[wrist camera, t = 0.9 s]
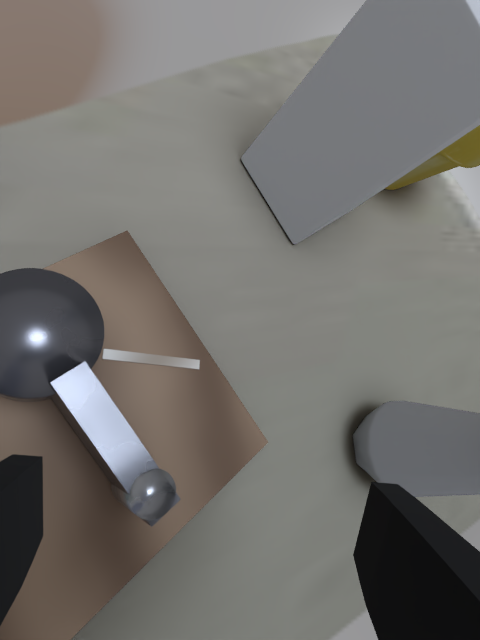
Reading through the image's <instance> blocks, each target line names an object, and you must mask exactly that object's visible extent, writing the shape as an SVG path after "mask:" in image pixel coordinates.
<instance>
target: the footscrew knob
mask: <svg viewBox="0 0 480 640" xmlns="http://www.w3.org/2000/svg"><path fill="white" fill-rule="evenodd" d="M103 342H104V321H103V318H102V314H101V311H100V309H99V307H98V305H97V303H96V302H95V300H94V298H93V297H92V296H91V295H90V293H89V292H88V291H87V290H86V289H85V288H84V287H82V286H81V285H80V284H79V283H77V282H76V281H74V280H73V279H71V278H69V277H67V276H65V275H63V274H60V273H57V272H54V271H50V270H45V269H37V268H24V269H16V270H12V271H8V272H4V273H2V274H0V396H1V397H3V398H6V399H9V400H14V401H19V402H37V401H43V400H47V399H52V401H53V402H54V404H55V405H56V406H57V408H58V409H59V411H60V412H61V414H62V415H63V416H64V418H65V419H66V421H67V422H68V423H69V425H70V426H71V428H72V429H73V431H74V432H75V433H76V435H77V436H78V438H79V439H80V440H81V442H82V443H83V445H84V446H85V448H86V449H87V450H88V452H89V453H90V455H91V456H92V457H93V459H94V460H95V462H96V463H97V465H98V466H99V467H100V469H101V470H102V472H103V473H104V474H105V476H106V477H107V479H108V480H109V482H110V483H111V491H112V494H113V496H114V497H115V499H116V500H117V501H119V502H120V503H121V504H123V505H124V506H125V507H127V508H128V509H129V510H130V511H131V512H133V513H134V514H135V515H137V516H138V517H139V518H141V519H142V520H143V521H144V522H146V523H147V524H148V525H150V526H151V527H152V526H153V525H154V524H156V523H157V522H158V521H159V520H160V519H161V518H162V517H163V516H164V515H165V514H166V513H167V512H168V511H169V510H170V509H171V508H172V507H173V506H174V505H176V504H177V503H178V502H179V501H180V500H181V499H180V497H179V496H178V494H177V493H176V485H175V482H174V480H173V478H172V476H171V475H170V474H169V473H168V472H166V471H164V470H162V469H160V468H159V467H158V466H157V464H156V463H155V461H154V460H153V458H152V457H151V455H150V454H149V453H148V451H147V450H146V448H145V447H144V445H143V444H142V442H141V441H140V440H139V438H138V437H137V435H136V434H135V432H134V431H133V429H132V428H131V427H130V425H129V424H128V422H127V421H126V419H125V418H124V417H123V415H122V414H121V412H120V411H119V409H118V408H117V406H116V405H115V404H114V402H113V401H112V399H111V398H110V396H109V395H108V393H107V392H106V391H105V389H104V388H103V386H102V385H101V383H100V382H99V380H98V379H97V378H96V376H95V375H94V373H93V372H92V370H91V369H92V367H93V366H94V364H95V363H96V361H97V360H98V357H99V355H100V353H101V350H102V347H103Z"/></svg>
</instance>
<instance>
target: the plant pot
mask: <svg viewBox="0 0 480 640" xmlns="http://www.w3.org/2000/svg"><path fill="white" fill-rule="evenodd" d="M479 165H480V125H479V126H478V127H476V128H475V129H473V130H472V131H470V132H469V133H467V134H466V135H464V136H463V137H461V138H460V139H458V140H457V141H455V142H454V143H452V144H451V145H449V146H448V147H446V148H445V149H443V150H442V151H440V152H439V153H437V154H436V155H434V156H433V157H431V158H430V159H428V160H427V161H425V162H424V163H422V164H421V165H419V166H418V167H416V168H415V169H413V170H412V171H410V172H409V173H407V174H406V175H404V176H403V177H401V178H400V179H398V180H397V181H395V182H394V183H392V184H391V185H389V186H388V187H386V188H385V189H388V190H395V189H398V188H401V187H404V186H406V185H409V184H412V183H414V182H417V181H420V180H422V179H425V178H428V177H431V176H433V175H436V174H439V173H441V172H444V171H447V170H450V169H453V168H455V167H458V166H461V167H465V168H472V167H476V166H479Z"/></svg>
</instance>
